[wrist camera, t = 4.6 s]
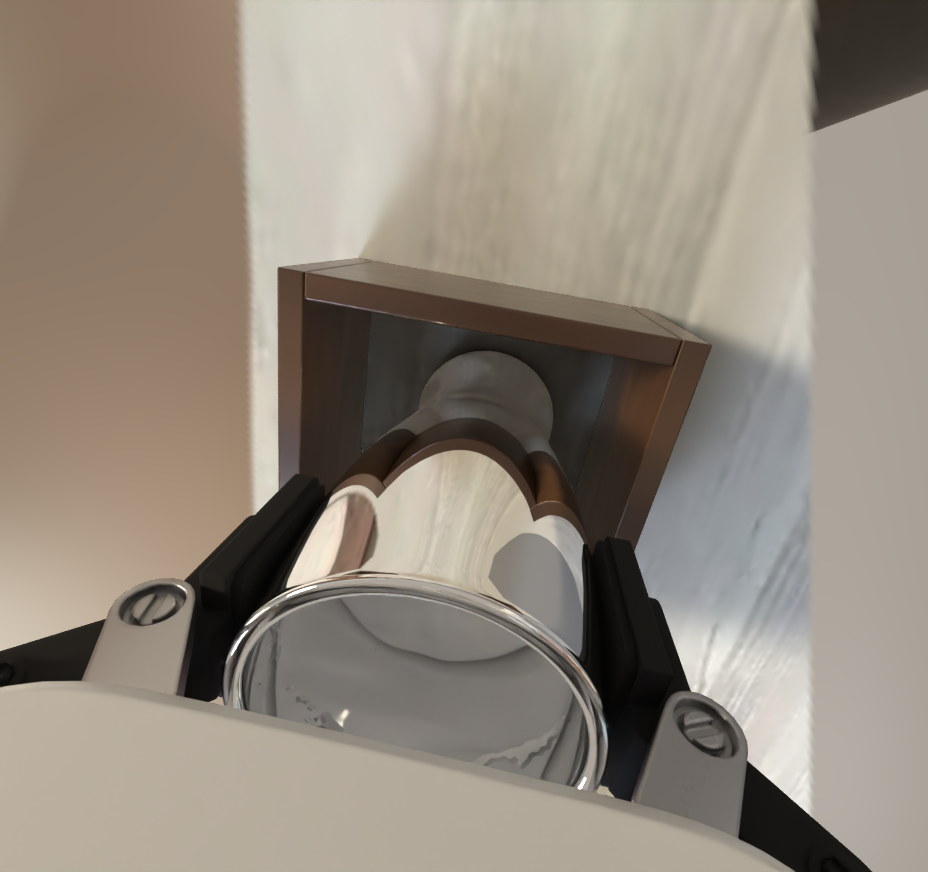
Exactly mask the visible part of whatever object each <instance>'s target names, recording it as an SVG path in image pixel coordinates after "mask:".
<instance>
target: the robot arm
mask: <svg viewBox="0 0 928 872" xmlns="http://www.w3.org/2000/svg"><path fill="white" fill-rule="evenodd" d="M324 498H325V486H324V485H323V484H319V479H318V478H317V477H312V476H307V475H302V474H295V475H294V476H293V477H292V478H291V479H290V480H289V481H288V482H287V483H286V484H285V485H284V486H283V487H282V488H281V489H280V490H279V491H278V492H277V493H276V494H275V495H274V496H273V497H272V498H271V499H270V500H269V501H268V502H267V503H266V504H265V505H264V506H263V507H262V508H261V509H260V510H259V511H258V512H257V513H256V515H252V516H249V517H248V518H246V519H245V520H244V521H243V522H242V523H241V524H240V525H239V526H238V527H237V528H236V529H235V530H234V531H233V532H232V533H231V534H230V535H229V536H228V537H227V538H226V539H225V540H224V541H223V542H222V543H221V544H220V545H219V546H218V547H217V548H216V549H215V550H214V551H213V552H212V554H210V555H209V556H208V557H207V558H206V559H205V560H204V562H202V563H201V564H200V565H199V566H198V567H197V568H196V570H194V571H193V572H192V573H191V574H190V576H188V577H187V578H186V579H185V581H182V580H178V579H174V578H164V579H156V580H151V581H148V582H144V583H142V584H139V585H137V586H135V587H133V588H131V589H130V590H128V591H126V592H124V593H123V594H122V595H121V596H120V597H119V598H118V599H117V600H115V602H114V604H113V605H112V607H111V608H110V610H109V613H108V615H107V618H106V619H104V620H101V621H98V622H94V623H91V624H88V625H84V626H81V627H78V628H74V629H71V630H68V631H65V632H61V633H58V634H55V635H52V636H49V637H45V638H42V639H39V640H35V641H32V642H29V643H26V644H22V645H19V646H16V647H13V648H9V649H6V650H3V651H0V872H872V871H871V870H870V869H869V868H868V867H867V866H866V865H865V864H864V863H863V862H862V861H861V860H860V859H859V858H857V857H856V856H855V855H854V854H853V853H852V852H851V851H850V850H848V849H847V848H846V847H845V846H844V845H843V844H842V843H840V842H839V841H838V840H837V839H836V838H835V837H834V836H833V835H831V834H830V833H829V832H828V831H827V830H826V829H824V828H823V827H822V826H821V825H820V824H819V823H818V822H817V821H815V820H814V819H813V818H812V817H811V816H810V815H809V814H807V813H806V812H805V811H804V810H803V809H802V808H801V807H799V806H798V805H797V804H796V803H795V802H794V801H793V800H791V799H790V798H789V797H788V796H787V795H786V794H785V793H783V792H782V791H781V790H780V789H779V788H778V787H777V786H775V785H774V784H773V783H772V782H771V781H770V780H769V779H767V778H766V777H765V776H764V775H763V774H762V773H761V772H760V771H758V770H757V769H756V768H755V767H754V766H753V765H752V764H750V763H749V762H748V761H747V757H748V747H747V740H746V738H745V735H744V733H743V731H742V729H741V727H740V726H739V725H738V723H737V722H736V720H735V719H734V718H733V717H732V716H731V715H730V714H729V713H728V712H727V711H726V710H725V709H724V708H723V707H722V706H721V705H719V704H718V703H716V702H715V701H713V700H712V699H710V698H708V697H706V696H704V695H702V694H699V693H695V692H691V691H690V688H689V685H688V682H687V679H686V676H685V673H684V670H683V668H682V665H681V662H680V659H679V656H678V653H677V650H676V648H675V645H674V642H673V639H672V636H671V633H670V630H669V628H668V625H667V622H666V619H665V616H664V613H663V610H662V608H661V605H660V603H659V601H657V600H656V599H653V598H649V596H648V593H647V590H646V587H645V584H644V581H643V578H642V575H641V572H640V569H639V566H638V562H637V559H636V556H635V553H634V550H633V547H632V544H631V542H630V541H629V540H624V539H619V538H614V537H609V536H607V537H606V538H605V540H604V541H601V540H598V541H597V543H596V545H595V548H594V551H593V554H592V561H593V568H594V575H595V582H596V589H597V596H598V606H599V618H600V630H601V642H602V660H603V678H604V691H605V704H606V712H607V716H608V720H609V725H610V732H611V751H610V759H609V764H608V767H607V771H606V774H605V776H604V778H603V781H602V783H601V784H600V785H601V786H606V787H608V788H609V791H610V792H611V793H612V795H613V796H614V797H615V798H613V797H610V796H606V795H602V794H598V793H594V792H590V791H586V790H583V789H579V788H574V787H570V786H566V785H562V784H558V783H554V782H549V781H545V780H541V779H537V778H533V777H529V776H524V775H520V774H516V773H512V772H508V771H504V770H499V769H495V768H491V767H487V766H483V765H479V764H474V763H470V762H466V761H462V760H458V759H453V758H449V757H445V756H441V755H436V754H432V753H428V752H423V751H419V750H415V749H411V748H406V747H402V746H398V745H394V744H389V743H385V742H381V741H376V740H372V739H368V738H364V737H359V736H355V735H351V734H346V733H342V732H338V731H333V730H329V729H325V728H320V727H316V726H312V725H307V724H303V723H298V722H294V721H290V720H285V719H281V718H276V717H272V716H268V715H263V714H259V713H254V712H250V711H246V710H241V709H237V708H232V707H228V706H224V705H219V704H215V703H210V701H212V700H215V699H216V698H217V697H218V696H219V697H222V688H221V676H222V668H223V663H224V659H225V656H226V653H227V650H228V648H229V645H230V643H231V641H232V639H233V637H234V636H235V634H236V633H237V631H238V630H239V628H240V627H241V626H242V625H243V623H244V622H245V621H246V620H247V619H248V618H249V616H250V615H251V613H252V612H253V610H254V609H255V607H256V605H257V604H258V602H259V600H260V599H261V597H262V596H263V594H264V592H265V590H266V589H267V587H268V585H269V584H270V582H271V580H272V578H273V577H274V575H275V573H276V572H277V570H278V568H279V567H280V565H281V563H282V562H283V560H284V558H285V557H286V555H287V553H288V552H289V550H290V549H291V547H292V545H293V544H294V542H295V541H296V539H297V537H298V536H299V534H300V532H301V531H302V529H303V528H304V526H305V525H306V523H307V522H308V520H309V519H310V517H311V516H312V515H313V513H314V512H315V510H316V509H317V507H318V506H319V505H320V503H321V502H322V500H323V499H324Z"/></svg>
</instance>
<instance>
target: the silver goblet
mask: <svg viewBox="0 0 928 872" xmlns="http://www.w3.org/2000/svg"><path fill="white" fill-rule="evenodd" d="M552 426H553V407H552V401H551V398H550V395H549V392H548V390H547V388H546V386H545V384H544V383H543V381H542V380H541V378H540V377H539V376H538V375H537V373H536V372H535V371H534V370H533V369H531V368H530V367H529V366H528V365H527V364H525V363H524V362H522V361H520V360H519V359H517V358H515V357H512V356H510V355H507V354H504V353H500V352H495V351H475V352H469V353H465V354H462V355H459V356H457V357H454V358H452V359H451V360H449V361H447V362H446V363H444V364H443V365H442V366H441V367H439V368H438V369H437V370H436V371H435V372H434V374H433V375H432V376H431V377H430V379H429V380H428V382H427V384H426V386H425V388H424V390H423V392H422V395H421V399H420V403H419V409H418V411H417V412H416V413H414V414H413V415H411V416H410V417H408V418H407V419H405V420H404V421H402V422H401V423H399V424H398V425H396V426H395V427H393V428H392V429H391V430H389V431H388V432H387V433H385V434H384V435H383V436H382V437H381V438H379V439H378V440H377V441H376V442H375V443H374V444H372V445H371V446H370V447H369V448H368V449H366V450H365V451H364V452H363V453H362V454H361V455H360V456H359V457H358V458H357V459H356V460H355V461H354V462H353V464H352V465H351V466H350V467H349V468H348V469H347V470H346V472H345V473H344V474H343V475H342V476H341V477H340V479H339V480H338V481H337V482H336V483H335V484H334V485H333V487H332V488H331V489H330V491H329V492H328V493H327V495H326V496H325V498H324V499H323V500H322V502H321V503H320V505H319V506H318V507H317V509H316V510H315V512H314V513H313V515H312V516H311V517H310V519H309V520H308V522H307V523H306V525H305V526H304V528H303V529H302V531H301V532H300V534H299V536H298V537H297V539H296V541H295V542H294V544H293V545H292V547H291V549H290V550H289V552H288V553H287V555H286V557H285V558H284V560H283V562H282V563H281V565H280V567H279V568H278V570H277V572H276V573H275V575H274V577H273V578H272V580H271V582H270V584H269V585H268V587H267V589H266V590H265V592H264V594H263V596H262V597H261V599H260V600H259V602H258V604H257V605H256V607H255V609H254V610H253V612H252V613H251V615H250V616H249V618H248V619H247V620H246V621H245V622H244V623H243V625H242V626H241V627H240V628H239V630H238V631H237V633H236V634H235V636H234V637H233V639H232V641H231V643H230V645H229V648H228V650H227V653H226V656H225V659H224V663H223V668H222V676H221V688H222V698H223V703H224V706H228V707H232V708H237V709H241V710H246V711H250V712H254V713H259V714H263V715H268V716H272V717H276V718H281V719H285V720H290V721H294V722H298V723H303V724H307V725H312V726H316V727H320V728H325V729H329V730H333V731H338V732H342V733H346V734H351V735H355V736H359V737H364V738H368V739H372V740H376V741H381V742H385V743H389V744H394V745H398V746H402V747H406V748H411V749H415V750H419V751H423V752H428V753H432V754H436V755H441V756H445V757H449V758H453V759H458V760H462V761H466V762H470V763H474V764H479V765H483V766H487V767H491V768H495V769H499V770H504V771H508V772H512V773H516V774H520V775H524V776H529V777H533V778H537V779H541V780H545V781H549V782H554V783H558V784H562V785H566V786H570V787H574V788H579V789H583V790H586V791H590V792H594V793H596V791H597V790H598V788H599V786H600V784H601V783H602V781H603V778H604V776H605V774H606V771H607V767H608V764H609V759H610V751H611V732H610V725H609V720H608V716H607V712H606V704H605V691H604V678H603V660H602V642H601V630H600V618H599V606H598V596H597V589H596V582H595V575H594V568H593V561H592V555H591V550H590V546H589V542H588V538H587V534H586V530H585V526H584V522H583V518H582V514H581V510H580V507H579V505H578V502H577V500H576V497H575V495H574V493H573V490H572V488H571V486H570V483H569V481H568V479H567V476H566V474H565V472H564V470H563V468H562V466H561V465H560V463H559V461H558V459H557V457H556V455H555V454H554V452H553V450H552V448H551V447H550V445H549V443H548V441H549V438H550V435H551V431H552Z"/></svg>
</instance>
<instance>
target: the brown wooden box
mask: <svg viewBox="0 0 928 872" xmlns="http://www.w3.org/2000/svg"><path fill="white" fill-rule="evenodd" d="M371 312H374V313H379V314H385V315H390V316H396V317H401V318H407V319H412V320H418V321H423V322H429V323H434V324H440V325H445V326H451V327H456V328H462V329H467V330H473V331H478V332H484V333H489V334H494V335H500V336H505V337H511V338H516V339H522V340H527V341H533V342H538V343H544V344H549V345H555V346H560V347H566V348H571V349H577V350H582V351H588V352H593V353H598V354H604V355H609V356H615V360H614V364H613V367H612V370H611V374H610V377H609V381H608V384H607V387H606V391H605V394H604V398H603V401H602V404H601V408H600V411H599V414H598V418H597V421H596V425H595V428H594V431H593V435H592V438H591V442H590V445H589V448H588V452H587V455H586V458H585V462H584V465H583V469H582V472H581V475H580V479H579V482H578V485H577V489H576V492H575V497H576V500H577V502H578V505H579V507H580V510H581V514H582V518H583V522H584V526H585V530H586V534H587V538H588V542H589V546H590V550H591V555H592V554H593V551H594V548H595V545H596V543H597V541H598V540H601V541H604V540H605V538H606V537H607V536H609V537H614V538H619V539H624V540H629V541H630V542H631V544H632V547H633V550H634V551H635V548H636V545H637V543H638V540H639V537H640V535H641V532H642V530H643V527H644V524H645V522H646V519H647V516H648V514H649V511H650V508H651V506H652V503H653V500H654V498H655V495H656V492H657V490H658V487H659V485H660V482H661V479H662V477H663V474H664V471H665V469H666V466H667V463H668V461H669V458H670V455H671V453H672V450H673V447H674V445H675V442H676V440H677V437H678V434H679V432H680V429H681V426H682V424H683V421H684V418H685V416H686V413H687V410H688V408H689V405H690V402H691V400H692V397H693V395H694V392H695V389H696V387H697V384H698V381H699V379H700V376H701V373H702V371H703V368H704V365H705V363H706V360H707V358H708V355H709V352H710V350H711V347H712V345H710V344H709V343H707V342H705V341H703V340H702V339H700V338H698V337H696V336H694V335H693V334H691V333H689V332H687V331H686V330H684V329H682V328H680V327H679V326H677V325H675V324H673V323H671V322H670V321H668V320H666V319H664V318H663V317H661V316H659V315H657V314H656V313H654V312H652V311H650V310H648V309H643V308H637V307H629V306H625V305H620V304H614V303H608V302H603V301H597V300H591V299H586V298H580V297H574V296H569V295H563V294H558V293H552V292H546V291H541V290H535V289H529V288H524V287H518V286H512V285H507V284H501V283H496V282H490V281H484V280H479V279H473V278H467V277H462V276H456V275H451V274H445V273H439V272H434V271H428V270H422V269H417V268H411V267H405V266H400V265H394V264H389V263H383V262H377V261H376V262H374V261H372V260H366V259H361V258H354V259H345V260H336V261H327V262H319V263H310V264H301V265H293V266H284V267H278V449H279V490H280V489H281V488H282V487H283V486H284V485H285V484H286V483H287V482H288V481H289V480H290V479H291V478H292V477H293V476H294V475H295V474H302V475H307V476H312V477H317V478H318V479H319V484H323V485H324V486H325V496H326V495H327V493H328V492H329V491H330V489H331V488H332V487H333V485H334V484H335V483H336V482H337V481H338V480H339V479H340V477H341V476H342V475H343V474H344V473H345V472H346V470H347V469H348V468H349V467H350V466H351V465H352V464H353V462H354V461H355V460H356V459H357V458H358V457H359V456H360V453H361V439H362V426H363V413H364V399H365V386H366V372H367V359H368V346H369V332H370V319H371Z"/></svg>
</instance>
